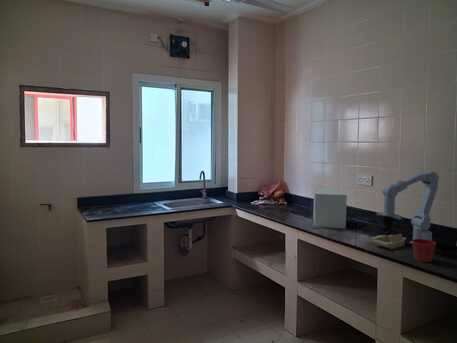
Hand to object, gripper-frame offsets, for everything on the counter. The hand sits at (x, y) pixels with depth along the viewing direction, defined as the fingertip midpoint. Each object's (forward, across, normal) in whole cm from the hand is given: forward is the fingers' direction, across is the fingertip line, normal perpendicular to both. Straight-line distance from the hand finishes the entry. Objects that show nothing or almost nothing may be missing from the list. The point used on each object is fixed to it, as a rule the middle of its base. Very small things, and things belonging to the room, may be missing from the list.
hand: (388, 229), depth 203 cm
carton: (+9, +1, 0) cm, 9 cm away
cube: (+10, -54, +13) cm, 57 cm away
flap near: (+4, +5, 0) cm, 7 cm away
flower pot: (+10, +25, -10) cm, 29 cm away
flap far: (+6, -6, 0) cm, 9 cm away
